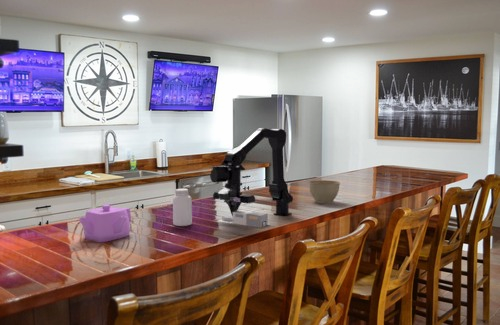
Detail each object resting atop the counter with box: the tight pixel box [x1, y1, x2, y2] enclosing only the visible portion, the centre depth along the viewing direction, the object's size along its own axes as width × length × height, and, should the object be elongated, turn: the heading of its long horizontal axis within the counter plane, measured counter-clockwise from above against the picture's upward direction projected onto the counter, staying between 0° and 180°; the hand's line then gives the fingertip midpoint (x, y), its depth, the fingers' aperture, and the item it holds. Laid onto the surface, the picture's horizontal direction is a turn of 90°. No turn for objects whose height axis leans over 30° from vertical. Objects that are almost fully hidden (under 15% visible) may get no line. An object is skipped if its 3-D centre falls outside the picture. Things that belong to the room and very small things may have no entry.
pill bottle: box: [172, 188, 193, 227], centre depth 206 cm, size 8×8×15 cm
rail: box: [217, 215, 270, 228], centre depth 208 cm, size 8×22×2 cm, turn 57°
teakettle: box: [78, 204, 132, 243], centre depth 186 cm, size 17×17×12 cm
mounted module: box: [246, 211, 269, 228], centre depth 204 cm, size 6×7×5 cm
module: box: [233, 209, 253, 226], centre depth 208 cm, size 6×7×5 cm
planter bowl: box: [308, 179, 341, 204], centre depth 256 cm, size 16×16×11 cm
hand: (233, 216), depth 210 cm, fingers closed
